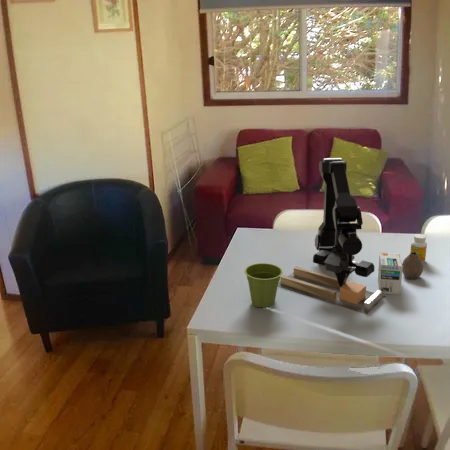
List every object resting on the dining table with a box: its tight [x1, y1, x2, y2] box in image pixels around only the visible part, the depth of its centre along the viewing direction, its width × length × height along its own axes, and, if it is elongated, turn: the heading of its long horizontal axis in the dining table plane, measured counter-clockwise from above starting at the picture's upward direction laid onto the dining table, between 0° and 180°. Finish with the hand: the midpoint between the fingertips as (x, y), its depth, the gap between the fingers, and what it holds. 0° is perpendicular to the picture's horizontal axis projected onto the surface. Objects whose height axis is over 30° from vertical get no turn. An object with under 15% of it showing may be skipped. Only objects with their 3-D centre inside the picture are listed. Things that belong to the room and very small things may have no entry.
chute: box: [278, 266, 386, 315], centre depth 175 cm, size 14×33×3 cm, turn 52°
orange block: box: [339, 280, 367, 304], centre depth 170 cm, size 6×6×4 cm
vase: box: [401, 252, 424, 280], centre depth 184 cm, size 7×7×9 cm
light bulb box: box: [377, 252, 403, 295], centre depth 176 cm, size 11×7×11 cm, turn 168°
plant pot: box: [244, 262, 283, 309], centre depth 169 cm, size 12×12×11 cm
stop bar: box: [364, 289, 383, 311], centre depth 166 cm, size 10×2×2 cm, turn 142°
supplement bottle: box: [409, 233, 428, 263], centre depth 196 cm, size 5×5×10 cm
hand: (341, 287), depth 172 cm, fingers closed
